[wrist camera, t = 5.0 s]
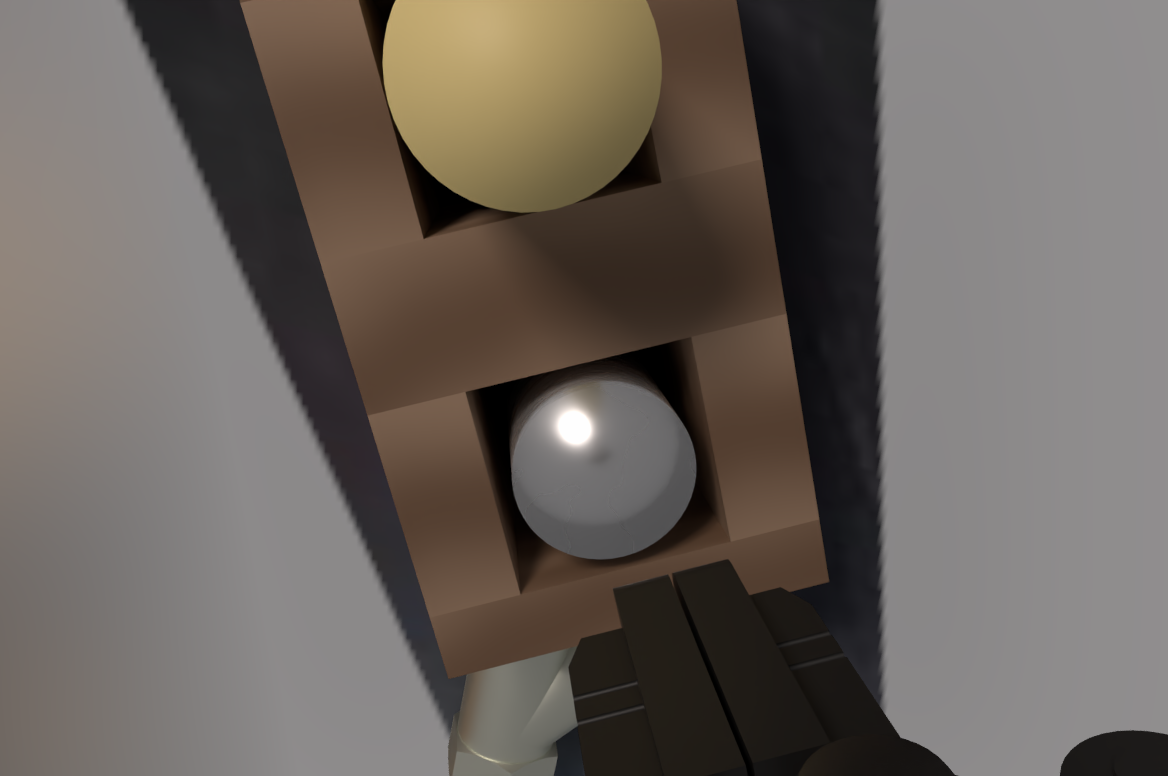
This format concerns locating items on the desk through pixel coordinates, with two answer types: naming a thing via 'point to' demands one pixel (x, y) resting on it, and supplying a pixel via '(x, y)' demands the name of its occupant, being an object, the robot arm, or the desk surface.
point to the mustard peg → (522, 94)
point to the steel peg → (598, 457)
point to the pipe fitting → (513, 718)
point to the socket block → (552, 324)
